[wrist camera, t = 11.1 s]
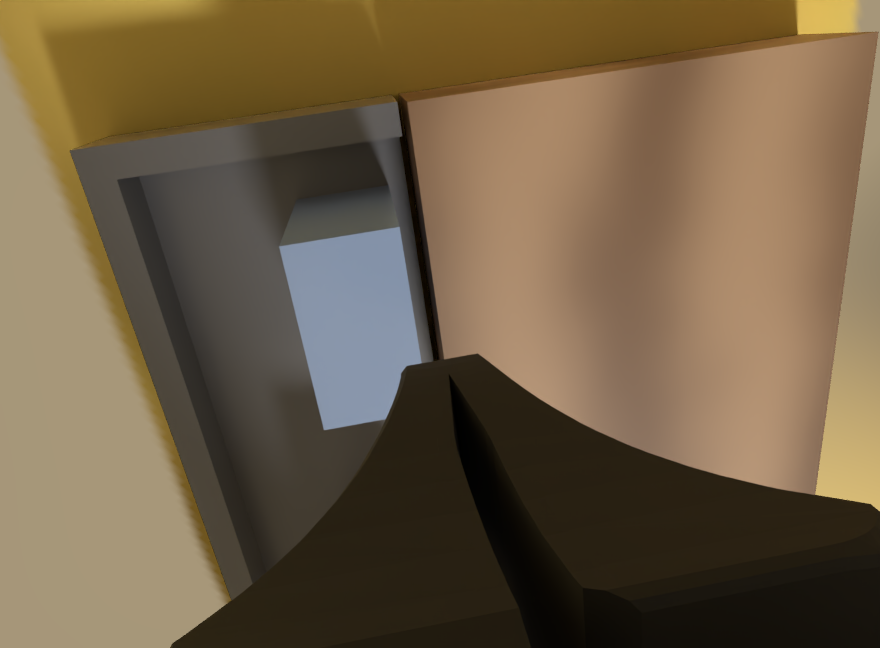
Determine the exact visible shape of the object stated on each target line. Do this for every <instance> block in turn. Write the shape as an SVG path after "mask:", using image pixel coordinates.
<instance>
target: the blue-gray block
mask: <svg viewBox="0 0 880 648" xmlns="http://www.w3.org/2000/svg"><path fill="white" fill-rule="evenodd" d="M279 248H280V252H281V257H282V261H283V265H284V269H285V273H286V277H287V281H288V285H289V289H290V293H291V297H292V301H293V306H294V310H295V314H296V318H297V322H298V326H299V330H300V334H301V338H302V342H303V346H304V350H305V355H306V359H307V363H308V367H309V371H310V375H311V379H312V383H313V387H314V391H315V395H316V399H317V404H318V408H319V412H320V416H321V420H322V424H323V428H324V430H329V429H334V428H340V427H345V426H351V425H356V424H362V423H367V422H373V421H378V420H384V419H386V417H387V415H388V413H389V411H390V408H391V406H392V404H393V401H394V398H395V396H396V393H397V390H398V387H399V383H400V379H401V373H402V371H403V370H404V369H405V367H406V366H409V365H415V364H420V363H422V362H421V356H420V350H419V344H418V337H417V331H416V325H415V319H414V313H413V307H412V300H411V294H410V288H409V282H408V276H407V270H406V263H405V257H404V251H403V245H402V239H401V233H400V227H399V223H398V219H397V215H396V212H395V208H394V204H393V200H392V197H391V193H390V189H389V185H386V186H380V187H373V188H367V189H361V190H354V191H348V192H342V193H335V194H329V195H323V196H317V197H310V198H304V199H298V200H296V203H295V205H294V208H293V211H292V213H291V216H290V219H289V221H288V224H287V227H286V229H285V232H284V235H283V237H282V240H281V243H280V245H279Z"/></svg>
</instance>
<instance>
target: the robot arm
mask: <svg viewBox="0 0 880 648" xmlns="http://www.w3.org/2000/svg"><path fill="white" fill-rule="evenodd" d="M170 648H880V511H878V510H877V509H876V508H875V507H873V506H872V505H871V504H866V503H860V502H855V501H849V500H843V499H837V498H830V497H824V496H818V495H813V494H806V493H800V492H794V491H788V490H782V489H777V488H772V487H767V486H763V485H759V484H755V483H751V482H746V481H742V480H738V479H734V478H730V477H725V476H721V475H718V474H714V473H711V472H707V471H703V470H700V469H696V468H693V467H690V466H686V465H683V464H680V463H677V462H674V461H671V460H669V459H666V458H663V457H660V456H657V455H654V454H651V453H648V452H645V451H643V450H640V449H638V448H635V447H632V446H630V445H627V444H625V443H623V442H621V441H618V440H616V439H614V438H612V437H609V436H607V435H605V434H603V433H600V432H598V431H596V430H594V429H592V428H590V427H588V426H586V425H584V424H582V423H580V422H578V421H576V420H575V419H573V418H571V417H569V416H568V415H566V414H564V413H562V412H561V411H559V410H557V409H555V408H554V407H552V406H550V405H549V404H547V403H545V402H544V401H542V400H541V399H539V398H538V397H536V396H535V395H533V394H532V393H530V392H529V391H527V390H526V389H524V388H523V387H522V386H520V385H519V384H517V383H516V382H515V381H513V380H512V379H511V378H509V377H508V376H507V375H505V374H504V373H503V372H502V371H500V370H499V369H498V368H496V367H495V366H494V365H493V364H491V363H490V362H489V361H487V360H486V359H485V358H483V357H482V356H481V355H479V354H478V353H477V354H472V355H466V356H460V357H455V358H449V359H443V360H437V361H432V362H426V363H420V364H415V365H409V366H406V367H405V369H404V370H403V371H402V373H401V379H400V383H399V387H398V390H397V393H396V396H395V398H394V401H393V404H392V406H391V408H390V411H389V413H388V415H387V417H386V420H385V422H384V424H383V426H382V429H381V431H380V433H379V434H378V436H377V438H376V440H375V442H374V443H373V445H372V447H371V449H370V451H369V452H368V454H367V456H366V458H365V460H364V461H363V463H362V464H361V466H360V468H359V469H358V471H357V472H356V474H355V475H354V477H353V478H352V480H351V481H350V483H349V484H348V485H347V487H346V488H345V489H344V491H343V492H342V494H341V495H340V496H339V498H338V499H337V500H336V502H335V503H334V504H333V505H332V506H331V508H330V509H329V510H328V511H327V512H326V513H325V515H324V516H323V517H322V518H321V519H320V520H319V521H318V522H317V524H316V525H315V526H314V527H313V528H312V529H311V530H310V531H309V532H308V534H307V535H306V536H305V537H304V538H303V539H302V540H301V541H300V542H299V543H298V544H297V545H296V546H295V547H294V548H292V549H291V550H290V551H289V552H288V553H287V554H286V555H285V556H284V557H283V558H282V559H281V560H280V561H279V562H278V563H276V564H275V565H274V566H273V567H272V568H271V569H269V570H268V571H267V572H266V573H265V574H264V575H263V576H261V577H260V578H259V579H258V580H257V581H256V582H254V583H253V584H252V585H251V586H250V587H248V588H247V589H246V590H245V591H243V592H242V593H241V594H240V595H238V596H237V597H236V598H234V599H233V600H232V601H230V602H229V603H228V604H226V605H225V606H223V607H222V608H221V609H219V610H218V611H217V612H215V613H214V614H213V615H212V616H210V617H209V618H207V619H206V620H205V621H203V622H202V623H201V624H199V625H198V626H197V627H195V628H194V629H193V630H191V631H190V632H189V633H187V634H186V635H184V636H183V637H181V638H180V639H178V640H177V641H175V642H174V643H173V644H172V645H171V647H170Z"/></svg>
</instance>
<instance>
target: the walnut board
mask: <svg viewBox="0 0 880 648" xmlns="http://www.w3.org/2000/svg"><path fill="white" fill-rule="evenodd" d="M877 38H878V32H858V33H830V34H802V35H793V36H786V37H779V38H773V39H766V40H759V41H752V42H746V43H739V44H732V45H725V46H719V47H712V48H705V49H698V50H692V51H685V52H678V53H671V54H665V55H658V56H651V57H644V58H638V59H631V60H624V61H617V62H611V63H604V64H597V65H590V66H584V67H577V68H570V69H563V70H557V71H550V72H543V73H536V74H530V75H523V76H516V77H509V78H503V79H496V80H489V81H482V82H476V83H469V84H462V85H455V86H449V87H442V88H435V89H428V90H422V91H415V92H408V93H401V94H399V99H400V106H401V113H402V119H403V126H404V133H405V140H406V146H407V153H408V160H409V167H410V173H411V180H412V187H413V194H414V200H415V207H416V214H417V221H418V227H419V234H420V241H421V247H422V254H423V261H424V268H425V274H426V281H427V288H428V295H429V301H430V308H431V315H432V322H433V328H434V335H435V342H436V349H437V355H438V360H443V359H449V358H455V357H460V356H466V355H472V354H477V353H478V354H479V355H481V356H482V357H483V358H485V359H486V360H487V361H489V362H490V363H491V364H493V365H494V366H495V367H496V368H498V369H499V370H500V371H502V372H503V373H504V374H505V375H507V376H508V377H509V378H511V379H512V380H513V381H515V382H516V383H517V384H519V385H520V386H522V387H523V388H524V389H526V390H527V391H529V392H530V393H532V394H533V395H535V396H536V397H538V398H539V399H541V400H542V401H544V402H545V403H547V404H549V405H550V406H552V407H554V408H555V409H557V410H559V411H561V412H562V413H564V414H566V415H568V416H569V417H571V418H573V419H575V420H576V421H578V422H580V423H582V424H584V425H586V426H588V427H590V428H592V429H594V430H596V431H598V432H600V433H603V434H605V435H607V436H609V437H612V438H614V439H616V440H618V441H621V442H623V443H625V444H627V445H630V446H632V447H635V448H638V449H640V450H643V451H645V452H648V453H651V454H654V455H657V456H660V457H663V458H666V459H669V460H671V461H674V462H677V463H680V464H683V465H686V466H690V467H693V468H696V469H700V470H703V471H707V472H711V473H714V474H718V475H721V476H725V477H730V478H734V479H738V480H742V481H746V482H751V483H755V484H759V485H763V486H767V487H772V488H777V489H782V490H788V491H794V492H800V493H806V494H813V495H815V491H816V484H817V477H818V469H819V461H820V454H821V448H822V440H823V432H824V426H825V418H826V411H827V404H828V396H829V389H830V381H831V374H832V367H833V360H834V353H835V345H836V338H837V330H838V323H839V316H840V309H841V301H842V294H843V286H844V279H845V272H846V265H847V258H848V250H849V243H850V236H851V227H852V221H853V214H854V207H855V199H856V192H857V185H858V177H859V170H860V163H861V155H862V148H863V140H864V134H865V126H866V118H867V112H868V104H869V96H870V89H871V82H872V75H873V67H874V60H875V53H876V46H877Z"/></svg>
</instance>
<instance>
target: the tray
mask: <svg viewBox="0 0 880 648" xmlns="http://www.w3.org/2000/svg"><path fill="white" fill-rule="evenodd" d="M401 136H402V130H401V124H400V117H399V110H398V104H397V101H396V100H395V99H394V97H393V96H392V95H387V96H381V97H374V98H367V99H360V100H354V101H347V102H340V103H333V104H327V105H320V106H313V107H306V108H300V109H293V110H286V111H279V112H273V113H266V114H259V115H252V116H246V117H239V118H232V119H225V120H219V121H212V122H205V123H198V124H192V125H185V126H178V127H171V128H165V129H158V130H151V131H144V132H138V133H131V134H124V135H117V136H111V137H106V138H103V139H100V140H98V141H95V142H92V143H89V144H86V145H83V146H81V147H78V148H75V149H72V150H70V153H71V156H72V158H73V161H74V164H75V167H76V170H77V172H78V175H79V178H80V181H81V183H82V186H83V189H84V192H85V195H86V197H87V200H88V203H89V206H90V208H91V211H92V214H93V217H94V220H95V222H96V225H97V228H98V231H99V233H100V236H101V239H102V242H103V245H104V247H105V250H106V253H107V256H108V258H109V261H110V264H111V267H112V270H113V272H114V275H115V278H116V281H117V283H118V286H119V289H120V292H121V295H122V297H123V300H124V303H125V306H126V309H127V311H128V314H129V317H130V320H131V322H132V325H133V328H134V331H135V334H136V336H137V339H138V342H139V345H140V347H141V350H142V353H143V356H144V359H145V361H146V364H147V367H148V370H149V372H150V375H151V378H152V381H153V384H154V386H155V389H156V392H157V395H158V397H159V400H160V403H161V406H162V409H163V411H164V414H165V417H166V420H167V422H168V425H169V428H170V431H171V434H172V436H173V439H174V442H175V445H176V448H177V450H178V453H179V456H180V459H181V461H182V464H183V467H184V470H185V473H186V475H187V478H188V481H189V484H190V486H191V489H192V492H193V495H194V498H195V500H196V503H197V506H198V509H199V511H200V514H201V517H202V520H203V523H204V525H205V528H206V531H207V534H208V536H209V539H210V542H211V545H212V548H213V550H214V553H215V556H216V559H217V562H218V564H219V567H220V570H221V573H222V575H223V578H224V581H225V584H226V587H227V589H228V592H229V595H230V598H231V600H233V599H234V598H236V597H237V596H238V595H240V594H241V593H242V592H243V591H245V590H246V589H247V588H248V587H250V586H251V585H252V584H253V583H254V582H256V581H257V580H258V579H259V578H260V577H261V576H263V575H264V574H265V573H266V572H267V571H268V570H269V569H271V568H272V567H273V566H274V565H275V564H276V563H278V562H279V561H280V560H281V559H282V558H283V557H284V556H285V555H286V554H287V553H288V552H289V551H290V550H291V549H292V548H294V547H295V546H296V545H297V544H298V543H299V542H300V541H301V540H302V539H303V538H304V537H305V536H306V535H307V534H308V532H309V531H310V530H311V529H312V528H313V527H314V526H315V525H316V524H317V522H318V521H319V520H320V519H321V518H322V517H323V516H324V515H325V513H326V512H327V511H328V510H329V509H330V508H331V506H332V505H333V504H334V503H335V502H336V500H337V499H338V498H339V496H340V495H341V494H342V492H343V491H344V489H345V488H346V487H347V485H348V484H349V483H350V481H351V480H352V478H353V477H354V475H355V474H356V472H357V471H358V469H359V468H360V466H361V464H362V463H363V461H364V460H365V458H366V456H367V454H368V452H369V451H370V449H371V447H372V445H373V443H374V442H375V440H376V438H377V436H378V434H379V433H380V431H381V429H382V426H383V424H384V422H385V420H386V419H384V420H378V421H373V422H367V423H362V424H356V425H351V426H345V427H340V428H334V429H329V430H324V428H323V424H322V420H321V416H320V412H319V408H318V404H317V399H316V395H315V391H314V387H313V383H312V379H311V375H310V371H309V367H308V363H307V359H306V355H305V350H304V346H303V342H302V338H301V334H300V330H299V326H298V322H297V318H296V314H295V310H294V306H293V301H292V297H291V293H290V289H289V285H288V281H287V277H286V273H285V269H284V265H283V261H282V257H281V252H280V248H279V245H280V243H281V240H282V237H283V235H284V232H285V229H286V227H287V224H288V221H289V219H290V216H291V213H292V211H293V208H294V205H295V203H296V200H298V199H304V198H310V197H317V196H323V195H329V194H335V193H342V192H348V191H354V190H361V189H367V188H373V187H380V186H386V185H389V189H390V193H391V197H392V200H393V204H394V208H395V212H396V215H397V219H398V223H399V227H400V233H401V239H402V245H403V251H404V257H405V263H406V270H407V276H408V282H409V288H410V294H411V300H412V307H413V313H414V319H415V325H416V331H417V337H418V344H419V350H420V356H421V362H422V363H426V362H432V361H433V354H432V348H431V341H430V335H429V328H428V321H427V315H426V308H425V302H424V295H423V288H422V282H421V275H420V269H419V262H418V256H417V249H416V242H415V236H414V229H413V223H412V216H411V209H410V203H409V196H408V190H407V183H406V176H405V170H404V163H403V157H402V150H401V143H400V137H401Z"/></svg>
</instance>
